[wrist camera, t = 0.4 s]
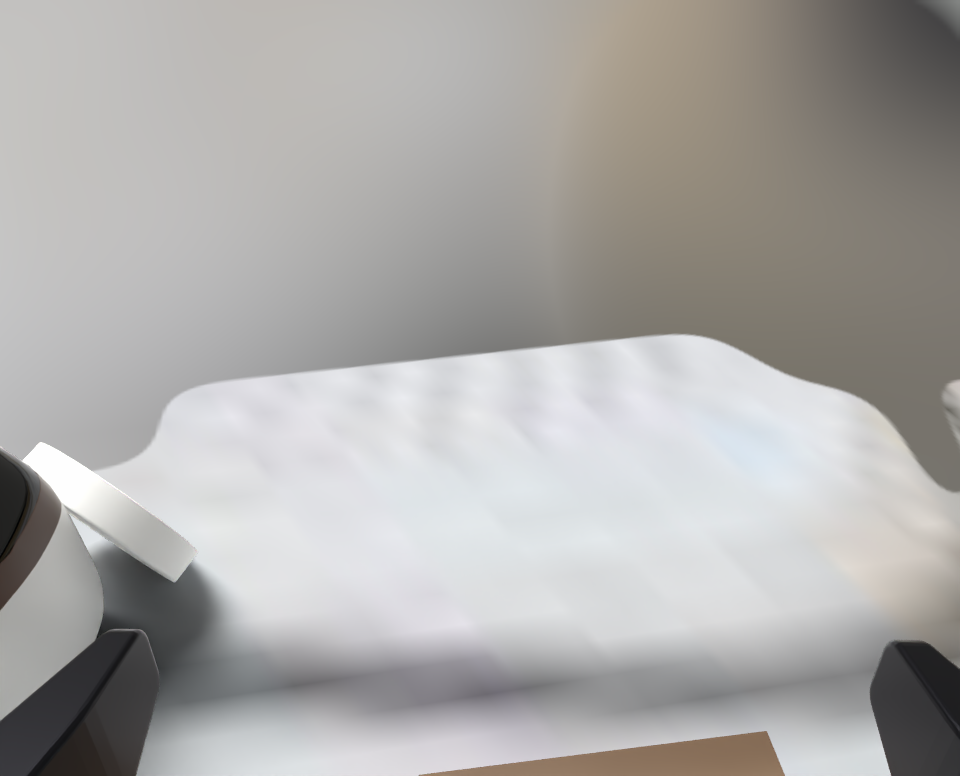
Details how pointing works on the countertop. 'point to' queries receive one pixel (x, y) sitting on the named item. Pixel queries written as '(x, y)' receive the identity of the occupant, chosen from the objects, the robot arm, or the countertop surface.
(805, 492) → the countertop surface
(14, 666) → the spread jar
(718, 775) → the board
